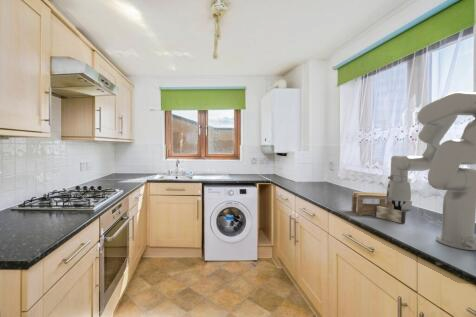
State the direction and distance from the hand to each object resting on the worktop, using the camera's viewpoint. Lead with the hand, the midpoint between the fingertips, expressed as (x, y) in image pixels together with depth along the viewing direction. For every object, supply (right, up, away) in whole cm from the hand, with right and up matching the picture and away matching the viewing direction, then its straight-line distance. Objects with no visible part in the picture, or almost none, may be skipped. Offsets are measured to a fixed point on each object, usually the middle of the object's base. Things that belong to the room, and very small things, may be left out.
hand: (397, 213), depth 122 cm
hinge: (+16, -4, +25) cm, 30 cm away
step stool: (-7, -4, +12) cm, 14 cm away
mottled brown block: (-4, -4, +1) cm, 5 cm away
